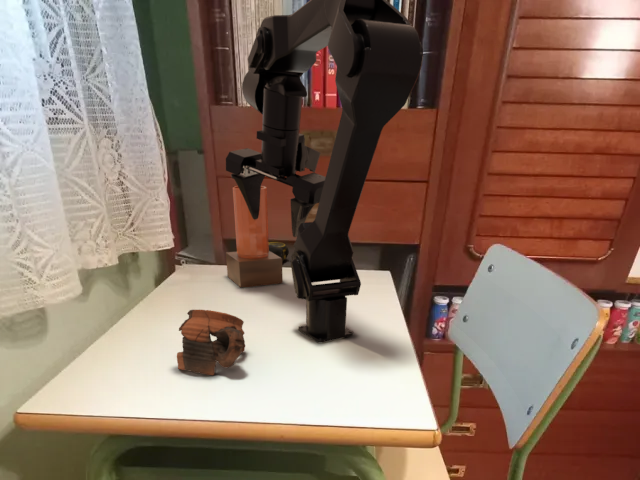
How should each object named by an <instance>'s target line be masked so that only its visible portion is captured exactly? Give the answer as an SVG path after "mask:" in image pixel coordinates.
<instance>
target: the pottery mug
mask: <svg viewBox="0 0 640 480" xmlns="http://www.w3.org/2000/svg"><path fill="white" fill-rule="evenodd" d="M187 315H188V318H187V319H185V320H184V322H182V323H181V324H180V326H179V328H178V331H179V332H180V335H181V336H182V341H181V342H182V351H178V352H177V353H176V361H177V369H178V370H182V371H189V372H191V373H195V374H202V375H207V376H214V375H215V371H216V365H217V363H218V365H220V367H222V368H224V369H228V368H231V367H232V366H234V365H235V363H236V361H237V359H238V358H239V357H240V355H241V354H242V353H244V352H245V349H246V341H245V338H244V335H245V331H244V330H243V325H244V323H245V321H244V320H243V319H241V318H240V317H238V316H235V315H232V314H229V313H226V312H221V311H217V310H211V309H189V310H188V312H187ZM212 337H216V339H215V340H212Z"/></svg>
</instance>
